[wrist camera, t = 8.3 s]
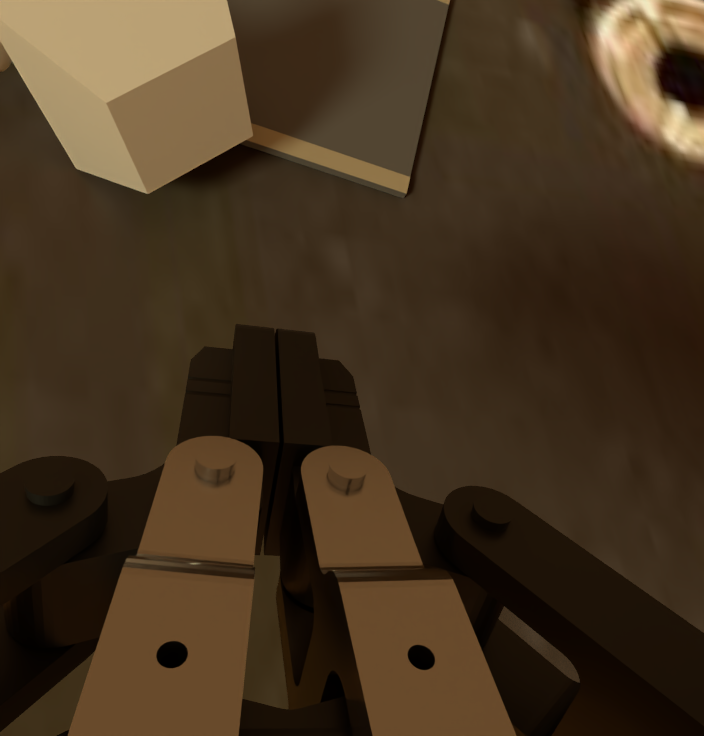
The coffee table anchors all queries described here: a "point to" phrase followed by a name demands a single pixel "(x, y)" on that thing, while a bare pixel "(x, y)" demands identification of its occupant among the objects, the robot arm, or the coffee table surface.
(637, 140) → the coffee table surface
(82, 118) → the figurine
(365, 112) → the felt mat
